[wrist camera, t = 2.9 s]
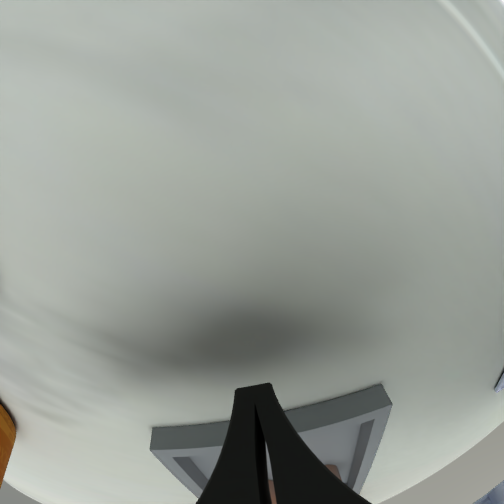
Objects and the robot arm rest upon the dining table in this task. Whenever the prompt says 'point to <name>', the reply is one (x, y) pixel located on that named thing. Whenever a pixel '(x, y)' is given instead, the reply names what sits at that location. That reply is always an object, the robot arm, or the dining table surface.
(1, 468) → the wine bottle
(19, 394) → the dining table surface
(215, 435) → the tray
